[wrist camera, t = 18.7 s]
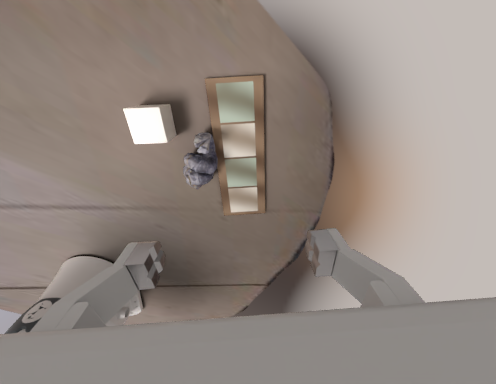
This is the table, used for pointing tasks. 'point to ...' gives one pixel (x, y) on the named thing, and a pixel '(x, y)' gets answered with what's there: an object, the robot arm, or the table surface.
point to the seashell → (201, 161)
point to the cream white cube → (150, 123)
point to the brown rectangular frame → (239, 141)
